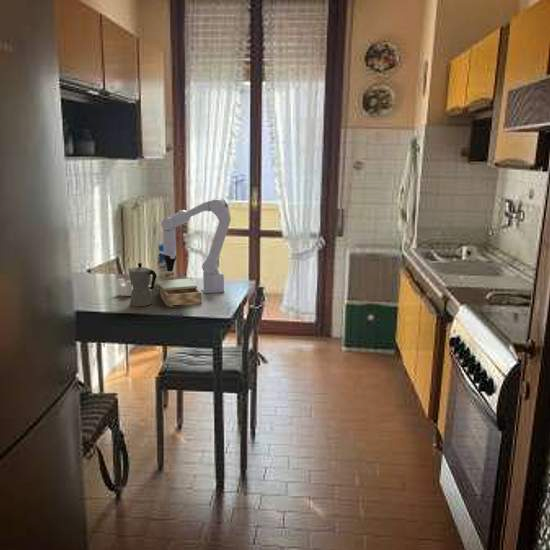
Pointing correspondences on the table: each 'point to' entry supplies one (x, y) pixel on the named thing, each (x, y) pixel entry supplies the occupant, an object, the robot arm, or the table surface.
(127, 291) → the bracket
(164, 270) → the beverage bottle
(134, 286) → the coffeepot
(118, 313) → the table surface
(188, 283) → the lid
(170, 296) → the box
